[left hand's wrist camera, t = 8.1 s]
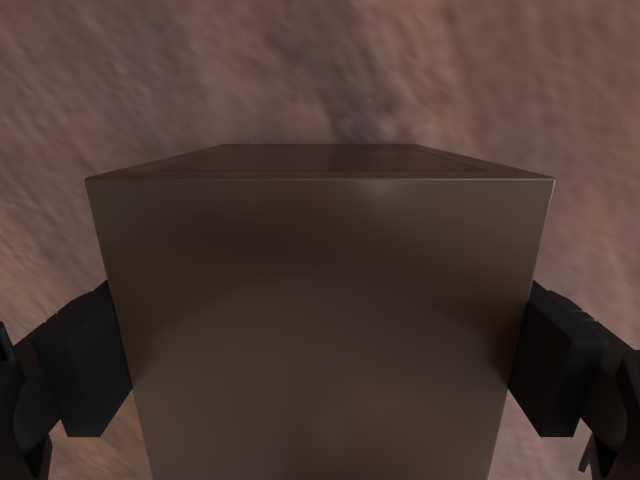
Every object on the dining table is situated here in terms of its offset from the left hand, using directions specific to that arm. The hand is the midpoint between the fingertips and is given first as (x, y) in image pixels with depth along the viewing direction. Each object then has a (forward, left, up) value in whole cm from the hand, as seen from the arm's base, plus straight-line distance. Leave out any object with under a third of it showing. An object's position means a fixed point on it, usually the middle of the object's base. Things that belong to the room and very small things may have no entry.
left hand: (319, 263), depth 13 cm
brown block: (+6, -3, -6) cm, 9 cm away
